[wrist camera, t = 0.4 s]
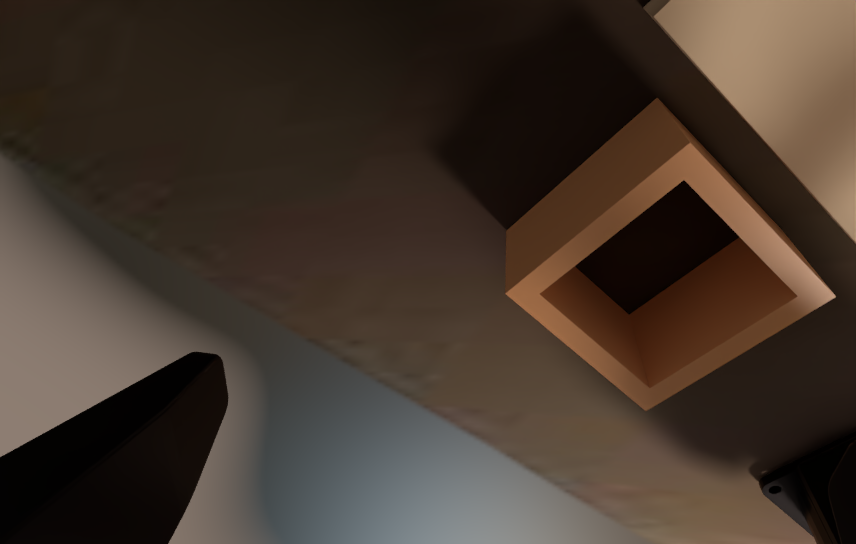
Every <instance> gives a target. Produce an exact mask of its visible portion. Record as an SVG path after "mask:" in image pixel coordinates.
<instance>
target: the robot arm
mask: <svg viewBox="0 0 856 544" xmlns="http://www.w3.org/2000/svg"><path fill="white" fill-rule="evenodd" d="M227 406H228V391H227V385H226V378H225V372H224V367H223V362H222V359H221V357H219V356H218V355H216V354H210V353H202V352H192V353H189V354H187V355H186V356H184V357H182V358H180V359H178V360H176V361H174V362H173V363H171V364H169V365H167V366H165V367H164V368H162V369H160V370H158V371H156V372H154V373H153V374H151V375H149V376H147V377H145V378H144V379H142V380H140V381H138V382H136V383H135V384H133V385H131V386H129V387H127V388H125V389H124V390H122V391H120V392H118V393H116V394H115V395H113V396H111V397H109V398H107V399H105V400H104V401H102V402H100V403H98V404H96V405H94V406H93V407H91V408H89V409H87V410H85V411H84V412H82V413H80V414H78V415H76V416H74V417H73V418H71V419H69V420H67V421H65V422H63V423H62V424H60V425H58V426H56V427H54V428H53V429H51V430H49V431H47V432H45V433H43V434H42V435H40V436H38V437H36V438H35V439H33V440H31V441H29V442H27V443H25V444H23V445H22V446H20V447H18V448H16V449H14V450H13V451H11V452H9V453H7V454H5V455H3V456H2V457H0V544H168V543H169V541H170V539H171V537H172V536H173V534H174V532H175V530H176V528H177V526H178V524H179V522H180V520H181V518H182V517H183V515H184V513H185V510H186V508H187V506H188V504H189V502H190V500H191V498H192V496H193V493H194V491H195V488H196V486H197V484H198V481H199V478H200V476H201V473H202V471H203V468H204V466H205V463H206V461H207V458H208V456H209V453H210V451H211V448H212V446H213V443H214V440H215V438H216V435H217V433H218V430H219V427H220V425H221V423H222V420H223V418H224V415H225V413H226V409H227ZM759 485H760V488H761V490H762V492H763V494H764V495H765V496H766V497H767V498H768V499H770V500H771V501H772V502H773V503H774V504H775V505H777V506H778V507H779V508H780V509H781V510H783V511H784V512H785V513H786V514H787V515H788V516H790V517H791V518H792V519H793V520H794V521H795V522H797V523H798V524H799V525H800V526H801V527H803V528H804V529H805V530H806V531H807V532H808V533H810V534H811V535H812V536H813V537H814V538H815V541H816V543H817V544H856V432H854V433H852V434H850V435H848V436H846V437H844V438H842V439H840V440H838V441H836V442H834V443H831V444H829V445H827V446H825V447H823V448H821V449H819V450H817V451H815V452H813V453H811V454H809V455H807V456H805V457H803V458H801V459H799V460H797V461H795V462H793V463H791V464H788V465H786V466H784V467H782V468H780V469H778V470H776V471H774V472H772V473H770V474H768V475H766V476H764V477H763V478H761V479H760V481H759Z"/></svg>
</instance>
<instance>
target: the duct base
mask: <svg viewBox="0 0 856 544" xmlns="http://www.w3.org/2000/svg"><path fill="white" fill-rule="evenodd" d="M643 8H644V10H645V11H646V12H647V13H648V14H649V15H650V16H651V17H652V19H653V20H654V21H655V22H656V23H657V24H658V25H659V26H660V27H661V29H662V30H663V31H664V32H665V33H666V34H667V35H668V36H669V37H670V39H671V40H672V41H673V42H674V43H675V44H676V45H677V46H678V47H679V49H680V50H681V51H682V52H683V53H684V54H685V55H686V56H687V58H688V59H689V60H690V61H691V62H692V63H693V64H694V65H695V66H696V68H697V69H698V70H699V71H700V72H701V73H702V74H703V75H704V76H705V78H706V79H707V80H708V81H709V82H710V83H711V84H712V85H713V87H714V88H715V89H716V90H717V91H718V92H719V93H720V94H721V95H722V97H723V98H724V99H725V100H726V101H727V102H728V103H729V104H730V105H731V107H732V108H733V109H734V110H735V111H736V112H737V113H738V114H739V115H740V117H741V118H742V119H743V120H744V121H745V122H746V123H747V124H748V126H749V127H750V128H751V129H752V130H753V131H754V132H755V133H756V134H757V136H758V137H759V138H760V139H761V140H762V141H763V142H764V143H765V144H766V146H767V147H768V148H769V149H770V150H771V151H772V152H773V153H774V154H775V156H776V157H777V158H778V159H779V160H780V161H781V162H782V163H783V165H784V166H785V167H786V168H787V169H788V170H789V171H790V172H791V173H792V175H793V176H794V177H795V178H796V179H797V180H798V181H799V182H800V183H801V185H802V186H803V187H804V188H805V189H806V190H807V191H808V192H809V193H810V195H811V196H812V197H813V198H814V199H815V200H816V201H817V202H818V204H819V205H820V206H821V207H822V208H823V209H824V210H825V211H826V212H827V214H828V215H829V216H830V217H831V218H832V219H833V220H834V221H835V222H836V224H837V225H838V226H839V227H840V228H841V229H842V230H843V231H844V232H845V234H846V235H847V236H848V237H849V238H850V239H851V240H852V241H853V243H854V244H855V245H856V0H651V1H650V2H649V3H647V4H646V5H645V6H644V7H643Z"/></svg>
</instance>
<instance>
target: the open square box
mask: <svg viewBox="0 0 856 544" xmlns="http://www.w3.org/2000/svg"><path fill="white" fill-rule="evenodd" d="M683 180H685V181H686V182H687V183H688V184H689V185H690V186H691V188H692V189H693V190H694V191H695V192H696V193H697V194H698V195H699V196H700V197H701V198H702V199H703V200H704V201H705V202H706V203H707V204H708V205H709V206H710V207H711V208H712V209H713V210H714V211H715V212H716V213H717V214H718V215H719V216H720V217H721V218H722V219H723V220H724V221H725V222H726V223H727V224H728V225H729V226H730V227H731V229H732V230H733V231H734V232H735V233H736V234H737V235H738V236H739V238H737V239H736V240H735V241H733V242H732V243H730V244H729V245H728V246H726V247H725V248H723V249H722V250H720V251H719V252H718V253H716V254H715V255H713V256H712V257H710V258H709V259H708V260H706V261H705V262H703V263H702V264H700V265H699V266H698V267H696V268H695V269H693V270H692V271H690V272H689V273H688V274H686V275H685V276H683V277H682V278H681V279H679V280H678V281H676V282H675V283H673V284H672V285H671V286H669V287H668V288H666V289H665V290H663V291H662V292H661V293H659V294H658V295H656V296H655V297H653V298H652V299H651V300H649V301H648V302H646V303H645V304H644V305H642V306H641V307H639V308H638V309H636V310H635V311H634V312H632V313H631V314H628V313H626V312H625V311H624V310H623V309H622V308H621V307H620V306H619V305H618V304H616V303H615V302H614V301H613V300H612V299H611V298H610V297H609V296H607V295H606V294H605V293H604V292H603V291H602V290H601V289H600V288H598V287H597V286H596V285H595V284H594V283H593V282H592V281H591V280H590V279H588V278H587V277H586V276H585V275H584V274H583V273H582V272H581V271H579V270H578V269H577V268H576V267H575V265H577V264H578V263H579V262H581V261H582V260H583V259H584V258H586V257H587V256H588V255H589V254H591V253H592V252H593V251H594V250H596V249H597V248H598V247H600V246H601V245H602V244H603V243H605V242H606V241H607V240H608V239H610V238H611V237H612V236H614V235H615V234H616V233H617V232H619V231H620V230H621V229H622V228H624V227H625V226H626V225H627V224H629V223H630V222H631V221H633V220H634V219H635V218H636V217H638V216H639V215H640V214H641V213H643V212H644V211H645V210H646V209H648V208H649V207H650V206H652V205H653V204H654V203H655V202H657V201H658V200H659V199H660V198H662V197H663V196H664V195H665V194H667V193H668V192H669V191H671V190H672V189H673V188H674V187H676V186H677V185H678V184H679V183H681V182H682V181H683ZM505 294H506V295H508V296H509V297H510V298H511V299H512V300H513V301H515V302H516V303H517V304H518V305H519V306H521V307H522V308H523V309H524V310H525V311H527V312H528V313H529V314H530V315H531V316H533V317H534V318H535V319H536V320H537V321H539V322H540V323H541V324H542V325H543V326H545V327H546V328H547V329H548V330H549V331H550V332H552V333H553V334H554V335H555V336H556V337H558V338H559V339H560V340H561V341H562V342H564V343H565V344H566V345H567V346H568V347H570V348H571V349H572V350H573V351H574V352H576V353H577V354H578V355H579V356H580V357H582V358H583V359H584V360H585V361H586V362H588V363H589V364H590V365H591V366H592V367H593V368H595V369H596V370H597V371H598V372H599V373H601V374H602V375H603V376H604V377H605V378H607V379H608V380H609V381H610V382H611V383H613V384H614V385H615V386H616V387H617V388H619V389H620V390H621V391H622V392H623V393H625V394H626V395H627V396H628V397H629V398H630V399H632V400H633V401H634V402H635V403H636V404H638V405H639V406H640V407H641V408H642V409H644V410H645V411H647V410H649V409H651V408H652V407H654V406H656V405H657V404H659V403H661V402H662V401H664V400H666V399H667V398H669V397H671V396H672V395H674V394H676V393H677V392H679V391H681V390H682V389H684V388H686V387H687V386H689V385H691V384H692V383H694V382H696V381H697V380H699V379H701V378H702V377H704V376H706V375H707V374H709V373H711V372H712V371H714V370H716V369H717V368H719V367H721V366H722V365H724V364H726V363H727V362H729V361H731V360H732V359H734V358H736V357H737V356H739V355H741V354H742V353H744V352H745V351H747V350H749V349H750V348H752V347H754V346H755V345H757V344H759V343H760V342H762V341H764V340H765V339H767V338H769V337H770V336H772V335H774V334H775V333H777V332H779V331H780V330H782V329H784V328H785V327H787V326H789V325H790V324H792V323H794V322H795V321H797V320H799V319H800V318H802V317H804V316H805V315H807V314H809V313H810V312H812V311H814V310H815V309H817V308H819V307H820V306H822V305H824V304H825V303H827V302H829V301H830V300H832V299H834V298H835V297H836V296H835V295H834V293H833V292H832V291H831V290H830V288H829V287H828V286H827V285H826V284H825V282H824V281H823V280H822V279H821V277H820V276H819V275H818V274H817V272H816V271H815V270H814V269H813V268H812V266H811V265H810V264H809V263H808V261H807V260H806V259H805V258H804V256H803V255H802V254H801V253H800V252H799V250H798V249H797V248H796V247H795V245H794V244H793V243H792V242H791V240H790V239H789V238H788V237H787V236H786V234H785V233H784V232H783V231H782V229H781V228H780V227H779V226H778V225H777V224H776V223H775V222H774V221H773V220H772V219H771V218H770V217H769V216H768V215H767V213H766V212H765V211H764V210H763V209H762V208H761V207H760V206H759V205H758V204H757V203H756V202H755V201H754V200H753V199H752V198H751V196H750V195H749V194H748V193H747V192H746V191H745V190H744V189H743V188H742V187H741V186H740V185H739V184H738V183H737V182H736V181H735V179H734V178H733V177H732V176H731V175H730V174H729V173H728V172H727V171H726V170H725V169H724V168H723V167H722V166H721V165H720V164H719V162H718V161H717V160H716V159H715V158H714V157H713V156H712V155H711V154H710V153H709V152H708V151H707V150H706V149H705V148H704V147H703V145H702V144H701V143H700V142H699V141H698V140H697V139H696V138H695V137H694V136H693V135H692V134H691V133H690V132H689V131H688V130H687V128H686V127H685V126H684V125H683V124H682V123H681V122H680V121H679V120H678V119H677V118H676V117H675V116H674V115H673V114H672V113H671V111H670V110H669V109H668V108H667V107H666V106H665V105H664V104H663V103H662V102H661V101H660V100H659V99H658V98H656V99H655V100H654V101H653V102H651V103H650V104H649V105H648V106H647V107H646V108H645V109H644V110H642V111H641V112H640V113H639V114H638V115H637V116H636V117H634V118H633V119H632V120H631V121H630V122H629V123H628V124H627V125H625V126H624V127H623V128H622V129H621V130H620V131H619V132H617V133H616V134H615V135H614V136H613V137H612V138H611V139H610V140H608V141H607V142H606V143H605V144H604V145H603V146H602V147H601V148H599V149H598V150H597V151H596V152H595V153H594V154H593V155H591V156H590V157H589V158H588V159H587V160H586V161H585V162H584V163H582V164H581V165H580V166H579V167H578V168H577V169H576V170H574V171H573V172H572V173H571V174H570V175H569V176H568V177H567V178H565V179H564V180H563V181H562V182H561V183H560V184H559V185H558V186H556V187H555V188H554V189H553V190H552V191H551V192H550V193H548V194H547V195H546V196H545V197H544V198H543V199H542V200H541V201H539V202H538V203H537V204H536V205H535V206H534V207H533V208H531V209H530V210H529V211H528V212H527V213H526V214H525V215H524V216H522V217H521V218H520V219H519V220H518V221H517V222H516V223H515V224H513V225H512V226H511V227H510V228H509V229H508V230H507V231H506V282H505Z"/></svg>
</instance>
